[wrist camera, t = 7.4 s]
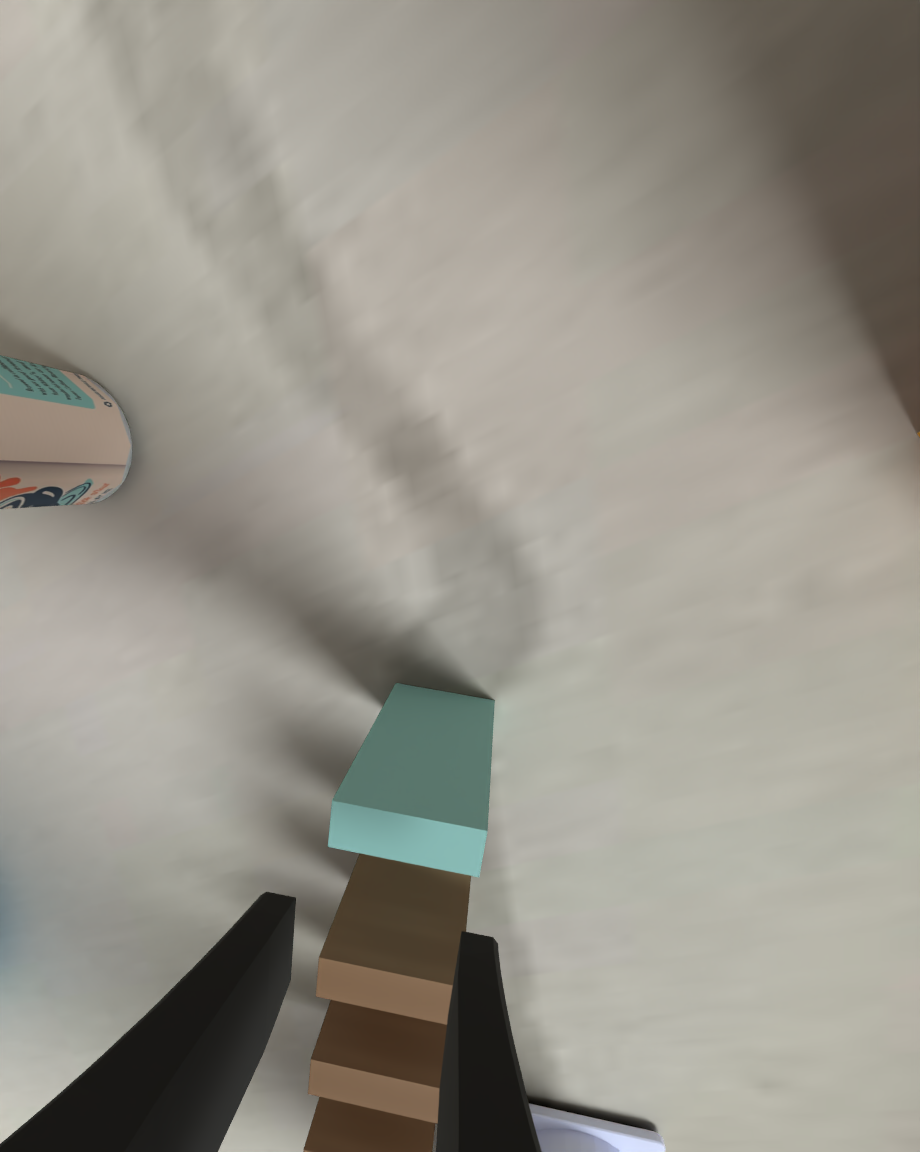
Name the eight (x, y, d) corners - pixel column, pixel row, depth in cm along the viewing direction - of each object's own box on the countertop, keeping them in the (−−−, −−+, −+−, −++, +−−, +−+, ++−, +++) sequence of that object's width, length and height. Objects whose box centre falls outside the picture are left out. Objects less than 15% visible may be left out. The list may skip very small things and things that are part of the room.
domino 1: (472, 837, 20) (454, 1026, 13) (380, 820, 20) (315, 996, 13) (476, 809, 20) (461, 987, 13) (383, 792, 20) (319, 957, 13)
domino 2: (460, 910, 21) (438, 1124, 14) (372, 893, 21) (308, 1093, 14) (465, 884, 20) (443, 1089, 13) (375, 866, 21) (310, 1059, 14)
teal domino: (489, 731, 19) (479, 877, 12) (392, 714, 19) (327, 846, 12) (494, 700, 18) (487, 830, 12) (395, 682, 19) (332, 800, 12)
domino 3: (450, 977, 21) (424, 1210, 15) (365, 959, 22) (301, 1180, 15) (454, 953, 21) (429, 1179, 14) (368, 935, 21) (303, 1149, 15)
